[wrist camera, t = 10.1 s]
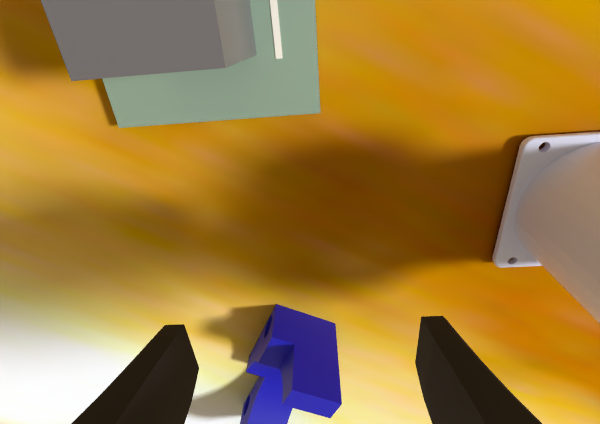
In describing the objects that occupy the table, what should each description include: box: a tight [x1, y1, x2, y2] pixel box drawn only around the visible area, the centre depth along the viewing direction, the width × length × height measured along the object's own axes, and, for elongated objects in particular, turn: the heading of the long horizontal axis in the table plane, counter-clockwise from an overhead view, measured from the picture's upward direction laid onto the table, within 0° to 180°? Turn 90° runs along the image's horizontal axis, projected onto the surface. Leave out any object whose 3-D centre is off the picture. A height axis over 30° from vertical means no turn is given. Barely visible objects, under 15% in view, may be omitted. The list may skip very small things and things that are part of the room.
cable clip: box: [240, 304, 342, 424], centre depth 23 cm, size 12×4×6 cm, turn 158°
